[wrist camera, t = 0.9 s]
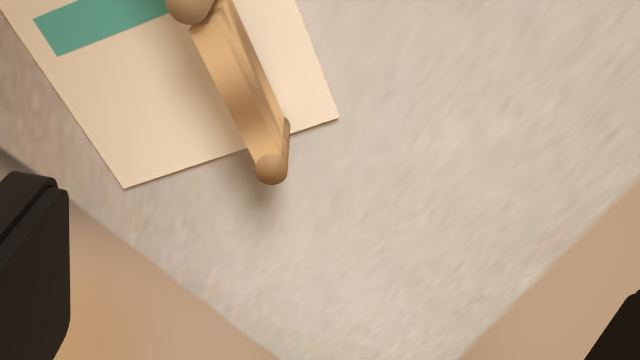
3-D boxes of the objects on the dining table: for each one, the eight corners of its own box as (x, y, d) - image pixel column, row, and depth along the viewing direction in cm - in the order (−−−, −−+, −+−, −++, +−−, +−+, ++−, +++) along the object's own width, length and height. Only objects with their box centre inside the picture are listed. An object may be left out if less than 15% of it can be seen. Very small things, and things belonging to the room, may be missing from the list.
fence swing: (202, 3, 31) (184, 34, 26) (231, -9, 30) (218, 21, 26) (268, 142, 36) (262, 188, 31) (294, 133, 35) (292, 179, 31)
